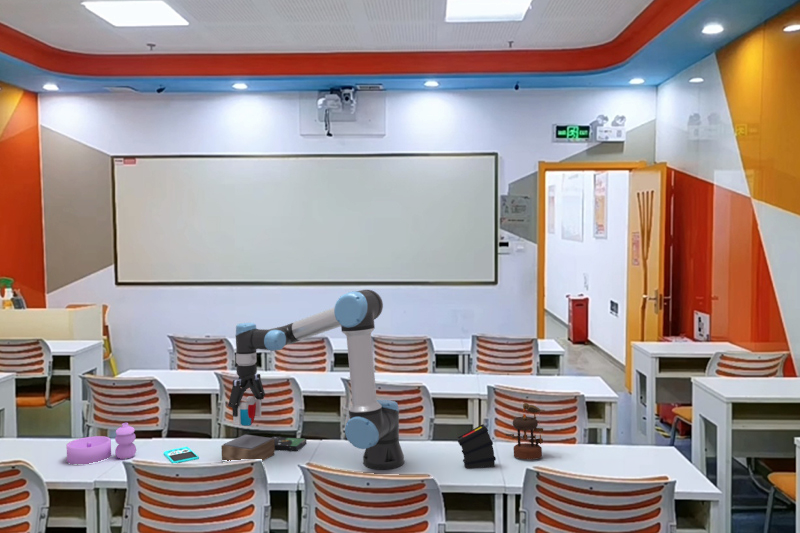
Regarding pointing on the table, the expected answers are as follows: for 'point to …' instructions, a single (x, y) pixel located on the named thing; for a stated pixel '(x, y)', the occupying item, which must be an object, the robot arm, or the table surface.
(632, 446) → the table surface
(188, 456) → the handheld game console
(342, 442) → the table surface
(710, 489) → the table surface
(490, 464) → the magazine
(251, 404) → the magnet
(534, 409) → the music box
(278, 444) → the disk drive
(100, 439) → the container set
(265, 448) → the walnut stand
